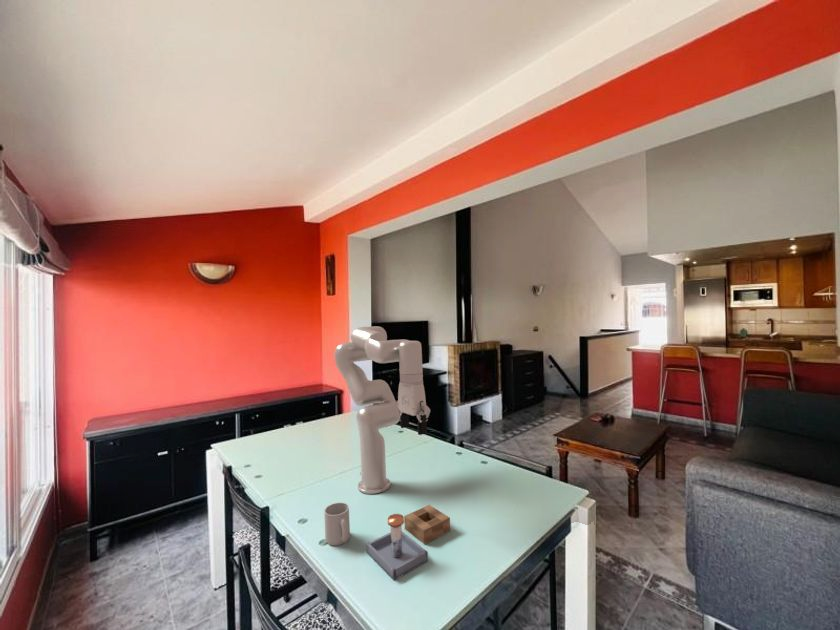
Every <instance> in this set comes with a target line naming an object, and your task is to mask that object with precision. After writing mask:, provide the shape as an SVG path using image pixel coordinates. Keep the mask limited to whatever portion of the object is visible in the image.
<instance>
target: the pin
mask: <svg viewBox="0 0 840 630" xmlns="http://www.w3.org/2000/svg"><path fill="white" fill-rule="evenodd" d="M403 524H405V522H404V515H402V514H400V513H393V514H391V515H389V516H388V517H387V525H388V526H390V532H391V551H392V557H393V558H400V557H402V555H403V552H402V532H403V530H402V529H403V528H402V525H403Z"/></svg>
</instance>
